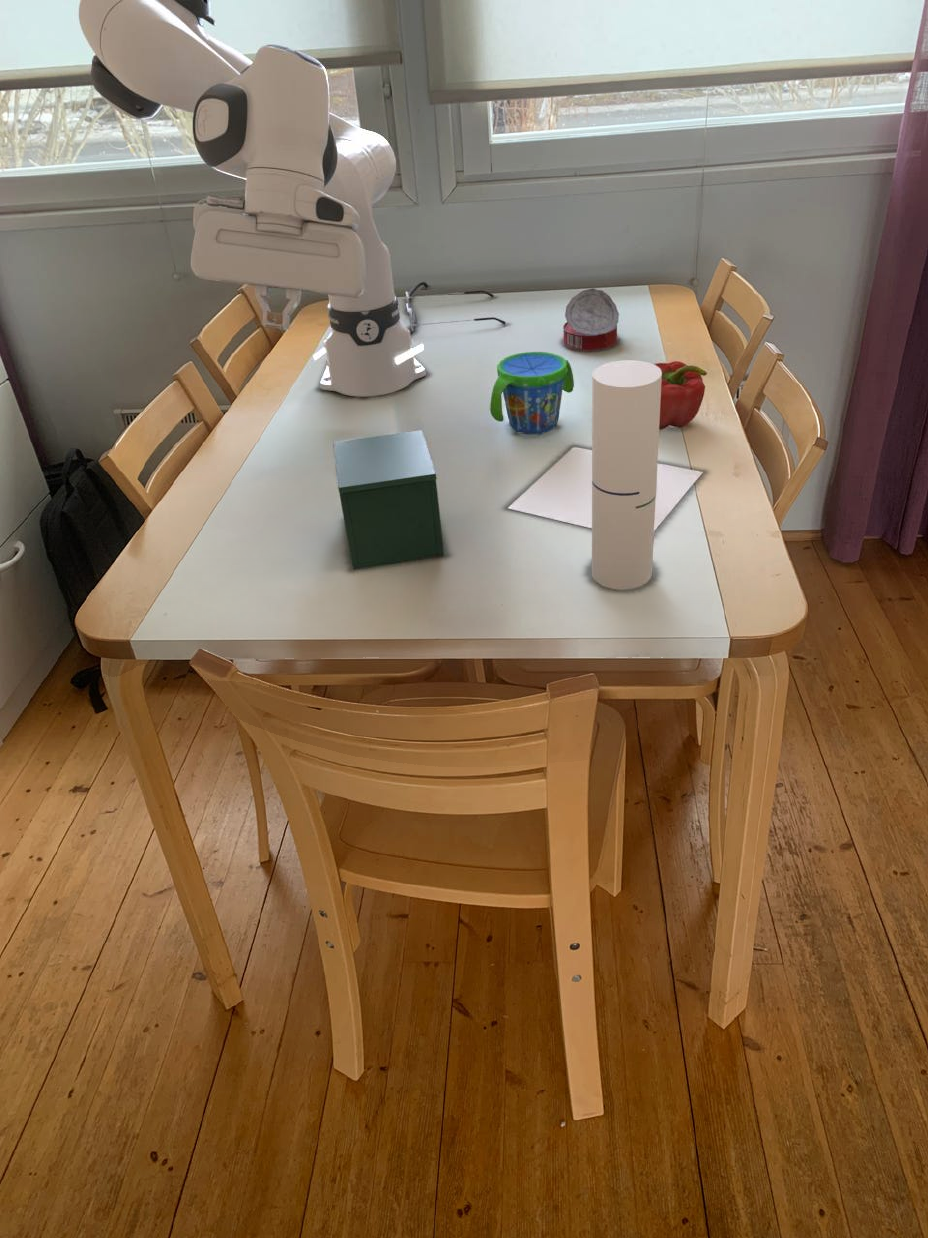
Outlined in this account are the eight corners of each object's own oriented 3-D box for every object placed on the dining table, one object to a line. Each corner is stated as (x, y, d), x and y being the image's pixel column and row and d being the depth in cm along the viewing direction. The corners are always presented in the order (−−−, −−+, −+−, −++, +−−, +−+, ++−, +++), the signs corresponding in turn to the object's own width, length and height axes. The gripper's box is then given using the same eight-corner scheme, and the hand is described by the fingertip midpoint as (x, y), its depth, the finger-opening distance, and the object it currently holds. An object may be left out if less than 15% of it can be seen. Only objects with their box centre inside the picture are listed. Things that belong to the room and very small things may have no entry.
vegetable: (719, 420, 143) (725, 357, 137) (682, 445, 137) (686, 380, 132) (658, 404, 150) (661, 342, 144) (620, 427, 144) (622, 364, 138)
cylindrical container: (586, 559, 115) (586, 364, 100) (643, 553, 115) (652, 357, 100) (598, 592, 109) (599, 390, 94) (658, 585, 109) (669, 382, 95)
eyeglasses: (405, 306, 198) (403, 287, 196) (493, 299, 199) (492, 280, 197) (410, 335, 183) (408, 315, 181) (505, 327, 185) (505, 307, 182)
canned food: (613, 358, 178) (639, 314, 171) (590, 372, 171) (616, 326, 164) (567, 324, 180) (591, 278, 173) (542, 336, 173) (566, 289, 166)
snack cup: (552, 401, 153) (551, 340, 147) (594, 422, 146) (594, 359, 140) (473, 429, 147) (469, 367, 141) (513, 452, 140) (510, 388, 134)
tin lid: (436, 479, 111) (435, 473, 111) (339, 494, 110) (338, 487, 110) (422, 435, 122) (422, 429, 121) (334, 447, 121) (333, 442, 120)
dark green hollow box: (444, 555, 118) (436, 480, 112) (352, 570, 117) (339, 494, 111) (430, 507, 128) (422, 435, 122) (346, 520, 127) (334, 448, 121)
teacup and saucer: (638, 505, 124) (639, 478, 122) (584, 493, 128) (584, 466, 126) (664, 476, 130) (665, 450, 128) (611, 466, 134) (612, 439, 132)
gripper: (186, 187, 105) (180, 315, 109) (367, 210, 106) (356, 337, 109) (202, 198, 111) (196, 319, 115) (372, 219, 112) (362, 339, 115)
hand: (275, 328), depth 112 cm, fingers closed
